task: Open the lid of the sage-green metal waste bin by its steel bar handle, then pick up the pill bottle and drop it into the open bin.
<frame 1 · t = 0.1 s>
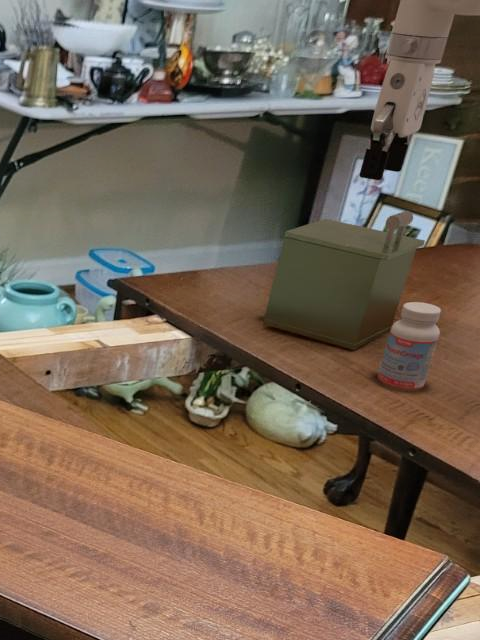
hand: (380, 174, 167), 22 cm above the table, tool pointing down, fingers open, 9 cm apart
pill bottle: (398, 389, 151), on the table
bin lid: (358, 223, 163), point 16 cm above the table, hinge at 0.0°
waste bin: (326, 327, 172), on the table
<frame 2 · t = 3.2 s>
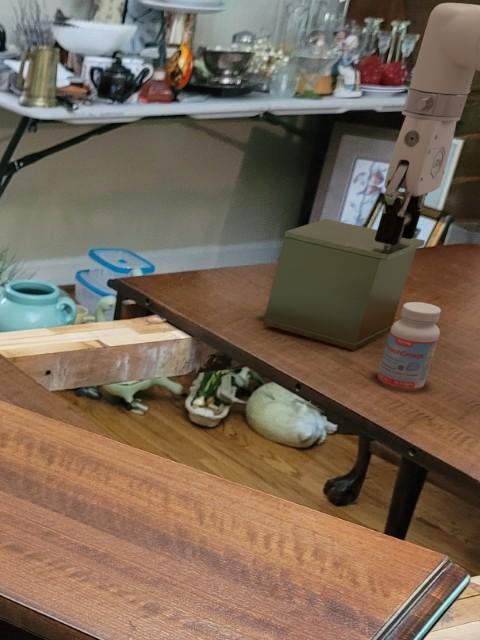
hand: (394, 238, 161), 15 cm above the table, tool pointing down, fingers closed on bin lid, 5 cm apart
bin lid: (358, 223, 163), point 16 cm above the table, hinge at 0.0°, touching gripper
everything else where it was.
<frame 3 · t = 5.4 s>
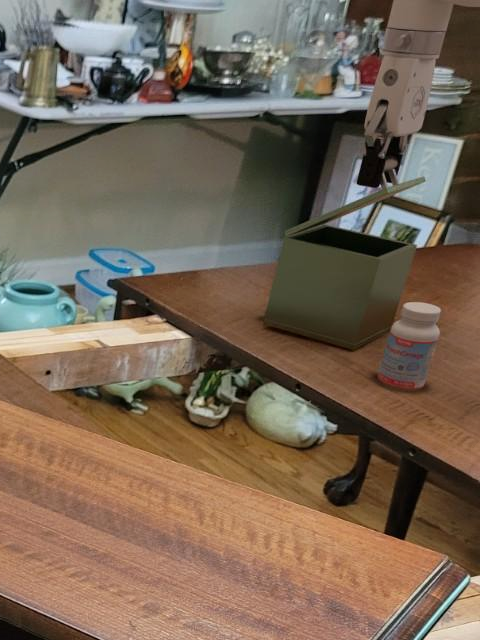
hand: (376, 182, 159), 22 cm above the table, tool pointing down, fingers closed on bin lid, 5 cm apart
bin lid: (349, 192, 162), point 20 cm above the table, hinge at 33.8°, touching gripper
everything else where it was.
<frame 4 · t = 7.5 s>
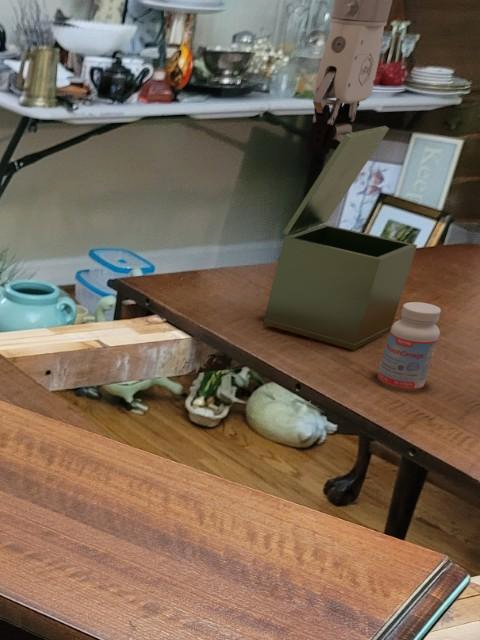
hand: (326, 149, 163), 25 cm above the table, tool pointing down, fingers closed on bin lid, 5 cm apart
bin lid: (324, 172, 164), point 22 cm above the table, hinge at 69.3°, touching gripper
everything else where it was.
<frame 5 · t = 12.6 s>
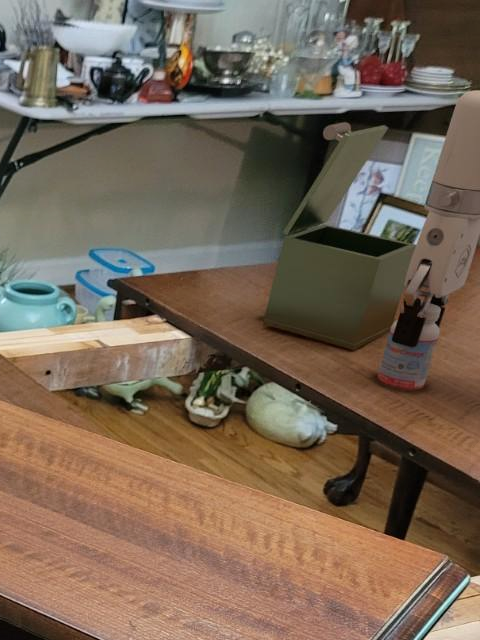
hand: (414, 337, 147), 7 cm above the table, tool pointing down, fingers closed on pill bottle, 6 cm apart
pill bottle: (398, 388, 151), on the table, touching gripper
bin lid: (323, 172, 164), point 22 cm above the table, hinge at 69.9°
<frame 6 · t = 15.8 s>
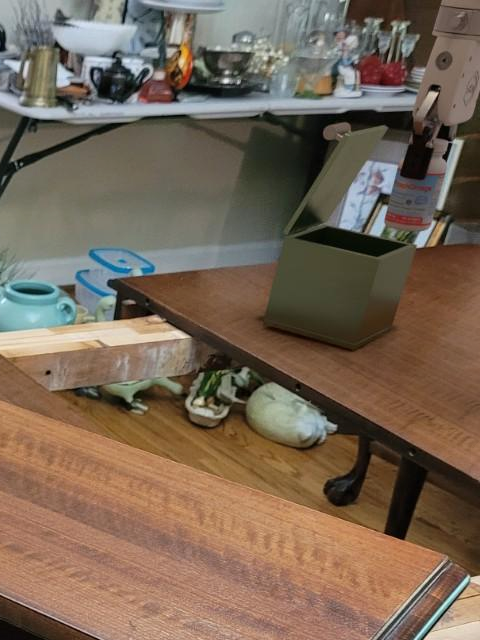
hand: (421, 173, 147), 26 cm above the table, tool pointing down, fingers closed on pill bottle, 6 cm apart
pill bottle: (406, 228, 151), point 18 cm above the table, touching gripper
everything else where it was.
when the fingers open (18 cm above the table, at t = 19.2 s): pill bottle drops 10 cm, resting on waste bin.
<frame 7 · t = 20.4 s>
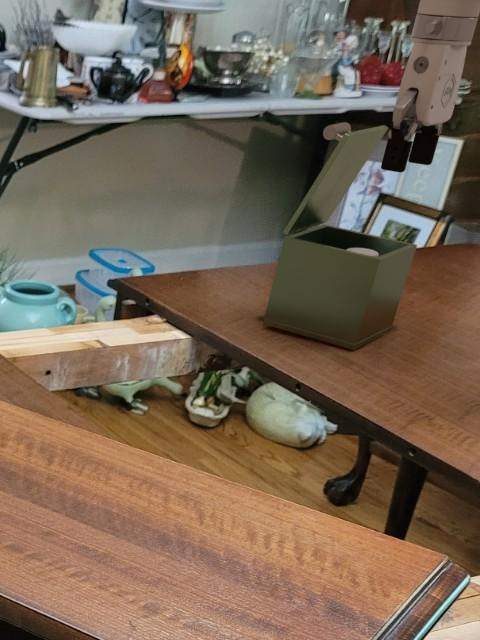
hand: (406, 167, 155), 25 cm above the table, tool pointing down, fingers open, 9 cm apart
pill bottle: (343, 326, 171), point 1 cm above the table, touching waste bin
everything else where it was.
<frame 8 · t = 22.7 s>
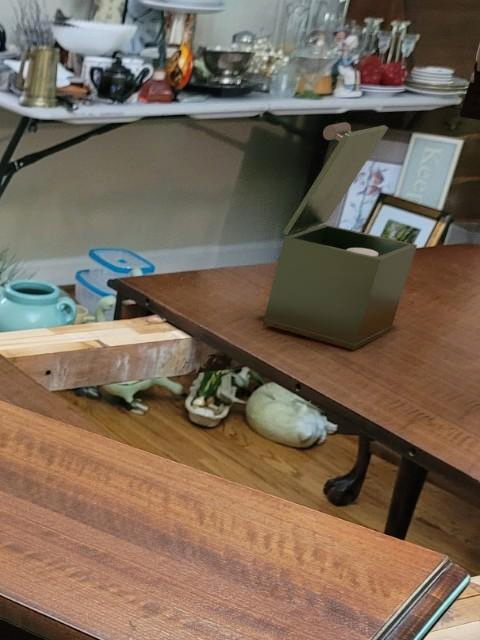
nothing on the table moved.
at the end: bin lid at +70° (first picture: +0°); pill bottle inside the target area in the waste bin (2.4 cm from its centre), point 0.8 cm above the waste bin's base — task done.
